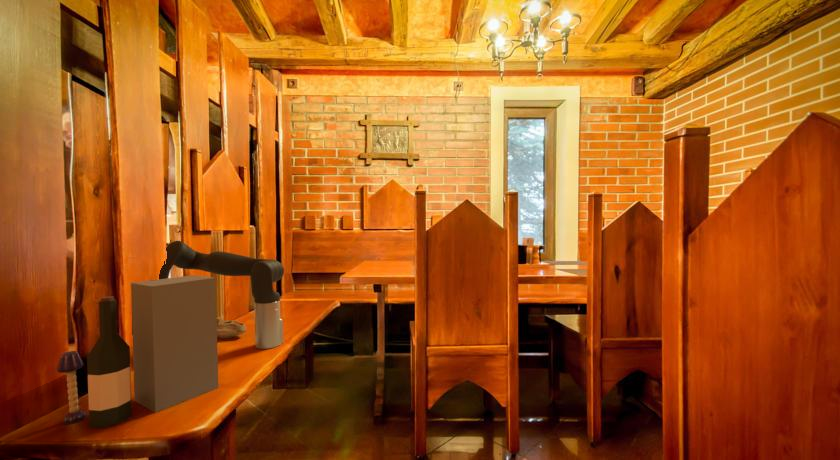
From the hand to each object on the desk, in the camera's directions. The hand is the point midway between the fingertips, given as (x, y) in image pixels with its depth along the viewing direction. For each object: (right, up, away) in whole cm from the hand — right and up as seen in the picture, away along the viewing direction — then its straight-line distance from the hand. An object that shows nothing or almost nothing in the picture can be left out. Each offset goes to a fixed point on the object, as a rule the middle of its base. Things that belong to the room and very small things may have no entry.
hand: (171, 290), depth 121 cm
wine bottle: (+7, -27, -32) cm, 42 cm away
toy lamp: (-2, -27, -32) cm, 42 cm away
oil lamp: (+2, -25, +33) cm, 42 cm away
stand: (+15, -26, -19) cm, 35 cm away
